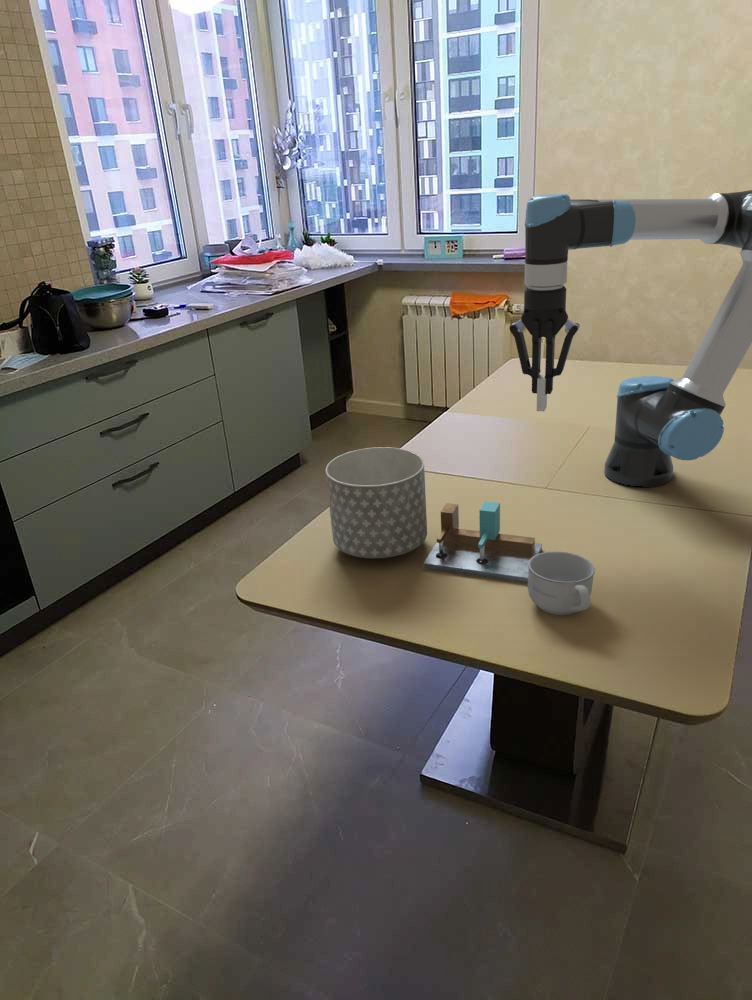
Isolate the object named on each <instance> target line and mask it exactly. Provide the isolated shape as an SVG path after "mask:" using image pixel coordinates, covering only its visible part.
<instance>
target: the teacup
mask: <svg viewBox="0 0 752 1000" xmlns="http://www.w3.org/2000/svg"><path fill="white" fill-rule="evenodd" d="M528 567H529V572H528V583H527V590H528V596H529V598H530V599H531V601H532V602H533V604H535V605H536V606H538V607H539V608H540V609H541V610H543V611H544V612H546V613H548V614H551V615H556V616H565V615H566V616H567V615H571V614H573V613H578V612H581V611H585V610H587V609H589V607H590V605H591V603H592V602H591V599H592V598H591V595H592V594H591V593H592V589H593V582H594V575H595V572H596V570H595V569H596V568H595V565H594V564H593V562H592V561H590V560H589V559H587V558H585V557H584V556H582V555H579V554H576V553H573V552H568V551H567V552H566V551H555V550H554V551H545V552H541V553H540V554H537V555H535V556H533V557H532V558H531V559H530V560H529V563H528Z"/></svg>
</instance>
